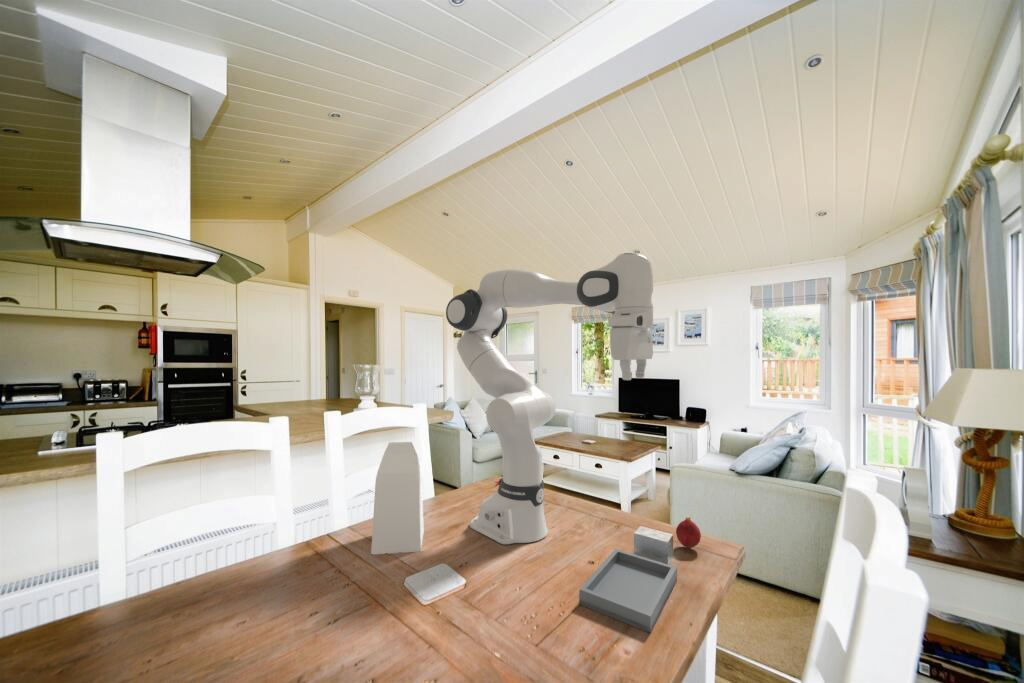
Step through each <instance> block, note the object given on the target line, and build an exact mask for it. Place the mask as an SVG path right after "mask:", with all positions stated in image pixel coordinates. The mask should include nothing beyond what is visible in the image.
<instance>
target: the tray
mask: <svg viewBox="0 0 1024 683" xmlns="http://www.w3.org/2000/svg"><path fill="white" fill-rule="evenodd" d="M677 582H678V568H677V566H674V565H672V564H670V565H668V564H665V563H661V562H658V561H655V560H651V559H648V558H645V557H641V556H638V555H635V554H634V553H632V552H628V551H624V550H622V549H618V548H615V549H614V550H613V551H612V552H611V553H610V554H609V555H608V557H607V558H606V559H604V561H603V562H602V563H601V564H599V567H597V569H596V570H595V571H594V572H593V573H592V574H591V575H590V577H589V578H588V579H586V581H585V582H584V583H583V584H582V586H581V587H580V588H579V589H578V590H579V592H578V593H579V594H578V595H579V596H578V599H579V600H578V605H580V606H581V607H584V608H587V609H590V610H592V611H594V612H596V613H599V614H602V615H604V616H607V617H610V618H612V619H614V620H616V621H619V622H622V623H623V624H627V625H629V626H630V627H634V628H637V629H639V630H642V631H644V632H647V633H649V634H651V633H652V631H653V630H654V627H655V626H656V624H657V622H658V620H659V617H660V615H661V613H662V612H663V609H664V608H665V607H666V603H667V602H668V600H669V597H670V596H671V593H672V591H673V589H674V588H675V586H676V584H677Z"/></svg>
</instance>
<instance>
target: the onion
mask: <svg viewBox="0 0 1024 683" xmlns="http://www.w3.org/2000/svg"><path fill="white" fill-rule="evenodd" d="M675 530H676V531H675V534H676V535H675V536H676V538H677V540H678V541H679V543H680V544H681V545H682V546H683V547H685V548H686V549H688V550H689V549H692V548H694V547H696V546H697V545H699V543H700V541H701V537H702V535H701V534H702V533H701V531H700V528H699V526H697V524H696V523H695V522H693V521H692V520H691V516H686V517H685V519H684V520H682V521H680V522H679V523H678V525H677V527H676V529H675Z"/></svg>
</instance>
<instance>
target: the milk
mask: <svg viewBox="0 0 1024 683" xmlns="http://www.w3.org/2000/svg"><path fill="white" fill-rule="evenodd" d="M418 455H419V454H418V453H417V450H416V448H415V446H414V444H413V441H401V442H400V441H397V442H389V443H388V444H387V446H386V448H385V450H384V453H383V455H382V458H381V461H380V463H379V467H378V469H377V473H376V477H375V482H374V483H375V484H374V486H375V487H374V500H373V516H372V531H371V532H372V534H371V536H372V537H371V551H370V555H371V554H373V555H383V554H384V555H386V554H385V553H388V554H400V553H399V552H402V553H415V552H416V553H417V552H422V546H423V539H424V533H425V532H424V531H425V529H424V528H425V526H424V524H425V522H424V500H423V498H424V497H423V475H422V474H423V473H422V472H423V471H422V463H421V461H420V458H419V456H418Z"/></svg>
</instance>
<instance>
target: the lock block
mask: <svg viewBox="0 0 1024 683" xmlns="http://www.w3.org/2000/svg"><path fill="white" fill-rule="evenodd" d="M633 554H635V555H638V556H641V557H645V558H648V559H651V560H655V561H658V562H661V563H665V564H668V565H671V564H672V562H673V560H672V559H674V534H673V533H670V532H665V531H662V530H658V529H653V528H650V527H647V526H646V527H645V526H642V525H640V526H639V527H638V528H637V529H636V530H635V531H634V533H633ZM671 561H672V562H671Z"/></svg>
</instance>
